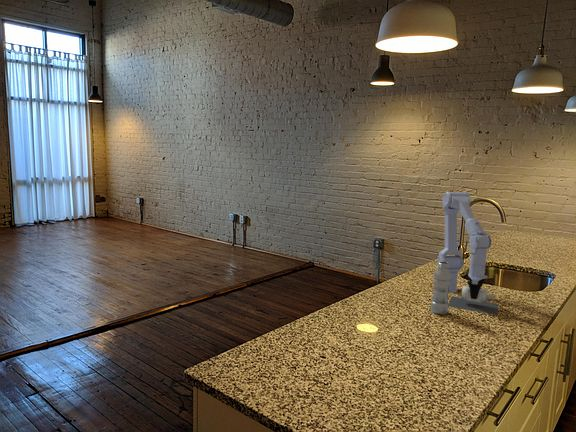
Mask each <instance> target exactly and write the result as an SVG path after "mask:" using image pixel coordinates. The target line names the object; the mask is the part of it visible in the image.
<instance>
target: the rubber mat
mask: <svg viewBox="0 0 576 432" xmlns="http://www.w3.org/2000/svg"><path fill="white" fill-rule="evenodd" d="M448 303H449V308H455V309H456V308H457V309H461V310H466V311H473V312H478V313H482V314H489V315H496V316H498V313H499V303H494V302H489V301H487V302H486V303H481V302H475V301H469V300H464V299H462V297H459V296H453V295H451V298H450V300H449V301H448Z"/></svg>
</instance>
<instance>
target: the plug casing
mask: <svg viewBox="0 0 576 432" xmlns="http://www.w3.org/2000/svg"><path fill="white" fill-rule="evenodd" d="M488 291H489V290H488V289H486V288H482V287H481V288H480V290H479V293H478V297H477V299H471V296H470V288H469V285H464V286H462V290H461V298H462V299H464V300H469V301H475V302H481V303H486V302H488V300H493V301H494V300H495V299H494V298H495V295H494V294H488Z"/></svg>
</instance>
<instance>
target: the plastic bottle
mask: <svg viewBox="0 0 576 432" xmlns="http://www.w3.org/2000/svg"><path fill="white" fill-rule="evenodd" d="M437 267H438V268H436V269H437V270H435V272H434V273H433V276H432V277H433V292H432V293H433V294H432V298H431V302H430V307H429V308H430V310H431V312H432V313H433V314H436V315H446V314H447V313H448V312H449V309H450V307H449V287H450V283H451V279H452V276H451V273H450V272H449V270H448V268H449V263H448V262H439V263H438V265H437Z"/></svg>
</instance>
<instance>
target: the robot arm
mask: <svg viewBox="0 0 576 432" xmlns="http://www.w3.org/2000/svg"><path fill="white" fill-rule="evenodd" d="M441 203H442V206H441V207H442V210H443V211H444V247H443V249H442V250H441V251H439V252H438V254H437V255H438V256H437V260H436V264H437V266H438V263H439V262H448V263H449V268H448V270H449V272H450V273H451V276H452V279H451V283H450V287H449V292H451V293H455V294H457V291H458V290H459V287H458V286H457V285H458V276H459V275H458V274H459V272H460V271H461V270H462V268H463V267H464V259H463V253H462V252H461V251H460V250H459V249H458V213H460V215H461V216H462V218H463V219H464V221H465V223H464V229H465V230H466V233H467V235H468V237H469V240H468V244H469V253H470V257H469V258H470V259H469V260H470V261H469V269H468V274H467V276H468V280H467V284H468V285H467V286H469V288H470V296H471V299H477V297H478V293H479V290H480V288H482V287H483V285H484V281H485V279H488V275H485V272H486V264H487V255H488V249H490V248H491V247H492V238H491V235H490V234H489V233H487V232H486V231H484V229H483V228H482V225H481V223H480V220H478V219H477V218H475V217H474V214H473V211H472V207H471V206H470V204H471V197H470V194H469V193H468V192H467V191H462V192H459V191H446V192H445V193H444V194H443V196H442V201H441ZM437 269H438V268H436V270H437ZM436 270H435V271H436Z"/></svg>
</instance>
